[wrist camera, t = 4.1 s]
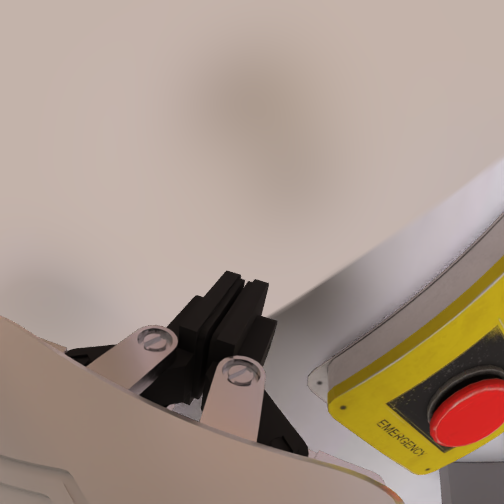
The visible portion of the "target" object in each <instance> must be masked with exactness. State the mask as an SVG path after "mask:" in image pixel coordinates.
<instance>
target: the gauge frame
mask: <svg viewBox="0 0 504 504" xmlns="http://www.w3.org/2000/svg"><path fill="white" fill-rule="evenodd" d="M439 473H440V484H441V497H442V504H504V462H490V463H460V462H452V463H450V464H448V465H446V466H444V467H442V468H440V469H439Z"/></svg>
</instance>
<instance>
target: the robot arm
mask: <svg viewBox="0 0 504 504" xmlns="http://www.w3.org/2000/svg"><path fill="white" fill-rule="evenodd" d="M244 283H245V280H243V279H241V275H240V274H236V273H233V272H230V271H226V272H225V273H224V274H223V275H222V276H221V277H220V279H219V280H218V281H217V282H216V283H215V285H214V286H213V287H212V288H211V289H210V290H209V292H208V293H207V294H206V295H205V296H204V297H201V296H198V295H197V296H195V297H194V298H193V299H192V300H191V301H190V302H189V303H188V305H186V306H185V308H184V309H183V310H182V311H181V312H180V313H179V314H178V315H177V316H176V317H175V319H174V320H173V321H172V322H171V323H170V324H169V325H168V326H167V327H166V328H165V327H163V326H157V325H150V326H145V327H142V328H140V329H138V330H137V331H135V332H134V333H132V334H131V335H130V336H128V337H127V338H125V339H124V340H123V341H121V342H120V343H118V344H116V345H107V346H97V347H87V348H76V349H72V350H69V351H67V348H66V347H63V346H61V345H58V344H55V343H53V342H50V341H47V340H44V339H42V338H39V337H37V336H36V335H34V334H32V333H31V332H29V331H28V330H26V329H25V328H23V327H21V326H20V325H18V324H17V323H15V322H13V321H11V320H9V319H7V318H5V317H2V316H0V504H404V502H403V500H402V499H401V498H400V497H399V496H398V495H397V494H396V493H395V492H394V491H392V490H391V489H390V488H388V487H387V486H386V485H385V482H384V480H383V479H382V478H381V477H380V476H379V475H378V474H376V473H374V472H372V471H370V470H367V469H364V468H361V467H359V466H356V465H354V464H351V463H348V462H346V461H343V460H341V459H338V458H336V457H334V456H331V455H329V454H327V453H324V452H322V451H320V450H319V452H318V453H316V452H314V451H311V450H309V449H308V447H307V445H306V443H305V442H304V440H303V439H302V438H301V436H300V435H299V434H298V433H297V431H296V430H295V429H294V428H293V426H292V425H291V424H290V422H289V421H288V420H287V419H286V417H285V416H284V415H283V413H282V412H281V411H280V409H279V408H278V407H277V406H276V404H275V403H274V402H273V400H272V399H271V398H270V396H269V395H268V394H267V392H266V391H265V390H264V387H265V380H266V374H265V370H264V369H263V365H264V362H265V360H266V357H267V354H268V351H269V349H270V346H271V342H272V339H273V336H274V332H275V329H276V325H277V321H276V320H272V319H269V318H266V317H263V316H261V315H262V311H263V307H264V303H265V299H266V295H267V290H268V286H269V283H266V282H263V281H260V280H256V279H255V280H254V281H253V282H250V281H248V283H247V284H246V285H245V287H244ZM202 393H203V397H202V405H201V410H202V416H201V419H200V422H198V421H195V420H193V419H190V418H188V417H186V416H183V415H181V414H178V413H176V412H174V411H173V409H174V407H175V404H176V403H181V402H183V403H185V404H188V405H190V404H191V402H192V400H193V399H194V398H196V399H199V398H200V397H201V395H202Z"/></svg>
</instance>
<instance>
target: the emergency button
mask: <svg viewBox="0 0 504 504" xmlns="http://www.w3.org/2000/svg"><path fill="white" fill-rule="evenodd" d="M307 386H308V387H309V389H310V390H311V391H312V392H313V393H314V394H315V395H317V396H318V397H319V398H320V399H322V400H323V401H324V402H325V403H327V404H328V412H329V413H330V414H331V416H332V417H333V418H334V419H335V420H337V421H338V422H339V423H341V424H342V425H343V426H345V427H346V428H348V429H349V430H350V431H352V432H353V433H354V434H356V435H357V436H359V437H360V438H361V439H363V440H364V441H366V442H367V443H368V444H370V445H371V446H373V447H374V448H376V449H377V450H378V451H380V452H381V453H383V454H384V455H386V456H387V457H389V458H390V459H392V460H393V461H395V462H396V463H398V464H399V465H401V466H402V467H404V468H405V469H407V470H408V471H410V472H411V473H413V474H416V475H425V474H428V473H431V472H434V471H436V470H438V469H440V468H442V467H444V466H446V465H448V464H450V463H452V462H454V461H456V460H458V459H460V458H462V457H464V456H465V455H467V454H469V453H471V452H473V451H474V450H476V449H478V448H479V447H481V446H483V445H484V444H486V443H488V442H489V441H491V440H493V439H494V438H496V437H497V436H499V435H500V434H502V433H503V432H504V212H503V213H502V214H501V215H500V216H499V217H498V218H497V219H496V221H495V222H494V223H493V224H492V225H491V226H490V227H489V228H488V229H487V230H486V231H485V232H484V233H483V234H482V235H481V236H480V237H479V238H478V239H477V240H476V241H475V242H474V243H473V244H472V245H471V246H470V247H469V248H468V249H467V250H466V251H465V252H464V253H463V254H461V255H460V256H459V257H458V258H457V259H456V260H455V261H454V262H453V263H452V264H451V265H450V266H449V267H447V268H446V269H445V270H444V271H443V272H442V273H441V274H440V275H439V276H437V277H436V278H435V279H434V280H433V281H432V282H431V283H429V284H428V285H427V286H426V287H425V288H424V289H422V290H421V291H420V292H419V293H418V294H416V295H415V296H414V297H413V298H412V299H410V300H409V301H408V302H407V303H405V304H404V305H403V306H402V307H400V308H399V309H398V310H397V311H395V312H394V313H393V314H392V315H390V316H389V317H388V318H386V319H385V320H384V321H382V322H381V323H380V324H378V325H377V326H376V327H374V328H373V329H372V330H370V331H369V332H368V333H366V334H365V335H364V336H362V337H361V338H359V339H358V340H357V341H355V342H354V343H352V344H351V345H350V346H348V347H347V348H345V349H344V350H342V351H341V352H340V353H338V354H337V355H335V356H334V357H332V358H331V359H329V360H328V361H326V362H325V363H323V364H322V365H320V366H319V367H317V368H315V369H314V370H313V371H312V372H311V373H310V375H309V376H308V382H307Z"/></svg>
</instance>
